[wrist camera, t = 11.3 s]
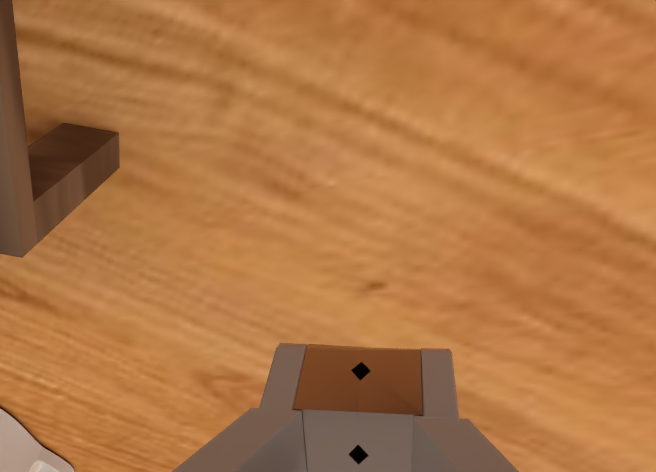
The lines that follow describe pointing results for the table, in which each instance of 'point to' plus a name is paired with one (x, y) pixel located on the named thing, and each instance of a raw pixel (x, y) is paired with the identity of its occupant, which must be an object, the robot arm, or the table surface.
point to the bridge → (41, 160)
